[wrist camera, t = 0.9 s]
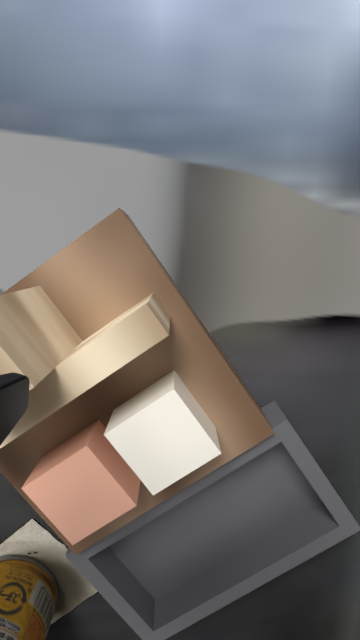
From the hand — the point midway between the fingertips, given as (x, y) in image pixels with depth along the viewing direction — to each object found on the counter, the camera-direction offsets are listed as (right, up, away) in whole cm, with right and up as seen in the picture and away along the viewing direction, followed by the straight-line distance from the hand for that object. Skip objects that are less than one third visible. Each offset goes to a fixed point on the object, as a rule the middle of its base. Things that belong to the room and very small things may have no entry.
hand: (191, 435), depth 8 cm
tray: (+2, -10, +15) cm, 18 cm away
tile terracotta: (-5, -5, +10) cm, 13 cm away
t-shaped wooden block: (-7, +2, +9) cm, 12 cm away
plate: (-5, -1, +13) cm, 13 cm away
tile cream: (-1, -2, +10) cm, 10 cm away
